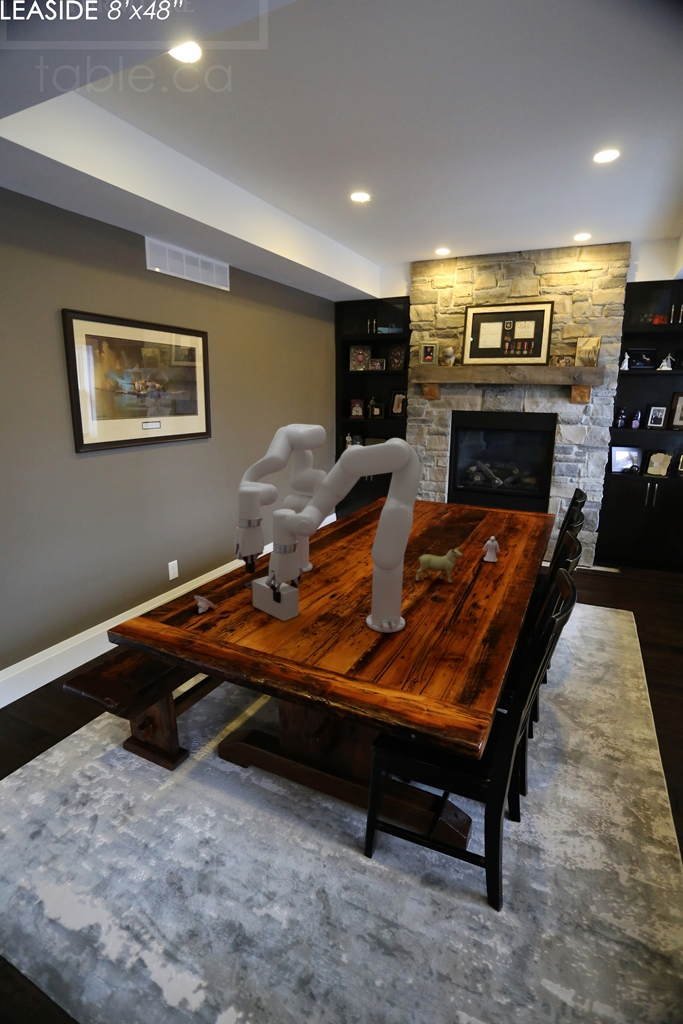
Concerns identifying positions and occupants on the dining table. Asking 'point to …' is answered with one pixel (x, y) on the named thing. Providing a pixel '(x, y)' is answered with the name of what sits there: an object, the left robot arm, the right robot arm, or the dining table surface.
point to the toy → (439, 563)
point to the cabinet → (265, 601)
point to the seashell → (203, 604)
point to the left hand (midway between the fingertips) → (250, 572)
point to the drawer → (249, 588)
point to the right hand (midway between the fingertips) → (285, 598)
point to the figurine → (491, 550)
